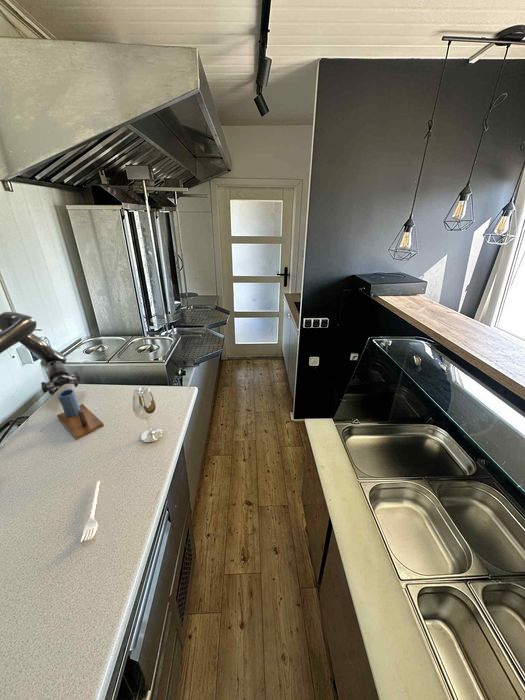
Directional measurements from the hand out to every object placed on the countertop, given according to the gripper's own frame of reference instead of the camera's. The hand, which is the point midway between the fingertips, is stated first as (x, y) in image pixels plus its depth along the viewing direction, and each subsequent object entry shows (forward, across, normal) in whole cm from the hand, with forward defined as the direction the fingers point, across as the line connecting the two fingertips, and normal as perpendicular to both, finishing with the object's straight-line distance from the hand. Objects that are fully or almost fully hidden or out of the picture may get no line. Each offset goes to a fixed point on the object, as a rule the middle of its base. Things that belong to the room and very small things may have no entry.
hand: (64, 389), depth 121 cm
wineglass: (+41, +20, +9) cm, 47 cm away
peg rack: (+14, +1, +9) cm, 17 cm away
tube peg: (+8, 0, +8) cm, 11 cm away
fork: (+60, -4, +9) cm, 61 cm away
